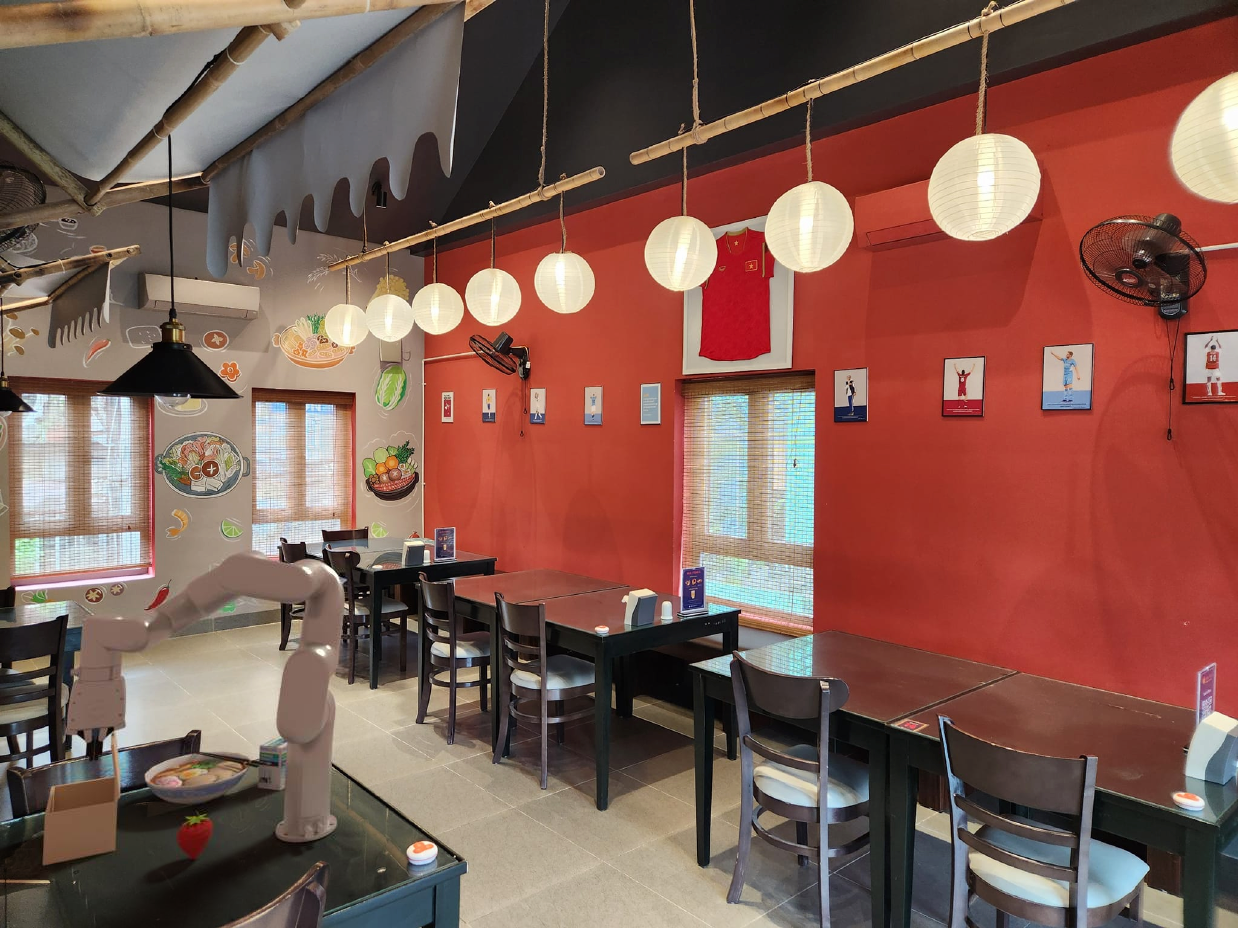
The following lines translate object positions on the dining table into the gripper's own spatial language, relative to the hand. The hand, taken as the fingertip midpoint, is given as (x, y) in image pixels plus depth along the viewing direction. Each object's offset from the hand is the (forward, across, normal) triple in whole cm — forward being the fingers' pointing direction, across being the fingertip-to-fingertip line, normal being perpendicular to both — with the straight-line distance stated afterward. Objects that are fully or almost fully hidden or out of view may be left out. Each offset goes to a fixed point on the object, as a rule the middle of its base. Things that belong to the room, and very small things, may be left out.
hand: (93, 758), depth 160 cm
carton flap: (+1, +4, 0) cm, 4 cm away
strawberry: (+17, +18, -20) cm, 32 cm away
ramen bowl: (+17, +22, +12) cm, 30 cm away
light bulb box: (+16, +41, +12) cm, 46 cm away
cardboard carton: (+17, -1, 0) cm, 17 cm away
